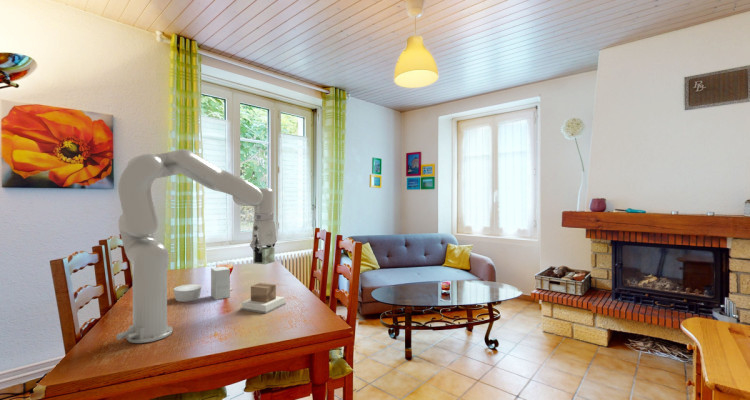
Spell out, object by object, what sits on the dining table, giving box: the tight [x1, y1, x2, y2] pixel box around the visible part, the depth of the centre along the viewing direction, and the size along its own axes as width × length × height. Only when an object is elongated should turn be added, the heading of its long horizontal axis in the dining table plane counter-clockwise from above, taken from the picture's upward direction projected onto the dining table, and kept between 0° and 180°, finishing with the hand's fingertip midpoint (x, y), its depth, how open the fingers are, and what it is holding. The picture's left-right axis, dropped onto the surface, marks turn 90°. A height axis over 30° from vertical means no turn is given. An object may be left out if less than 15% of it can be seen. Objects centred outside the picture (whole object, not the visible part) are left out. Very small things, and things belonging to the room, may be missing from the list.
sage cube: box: [252, 246, 276, 265], centre depth 143 cm, size 6×6×6 cm
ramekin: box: [173, 283, 202, 303], centre depth 154 cm, size 11×11×5 cm
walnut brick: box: [250, 282, 277, 303], centre depth 143 cm, size 6×8×6 cm
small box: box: [210, 266, 231, 301], centre depth 157 cm, size 8×6×13 cm
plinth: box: [240, 295, 287, 314], centre depth 143 cm, size 13×13×3 cm
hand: (264, 260), depth 143 cm, fingers closed on sage cube, 6 cm apart
